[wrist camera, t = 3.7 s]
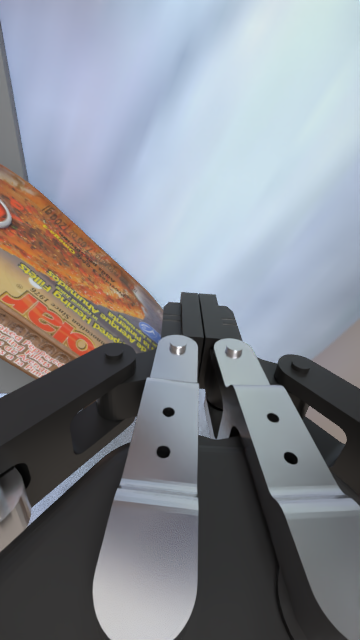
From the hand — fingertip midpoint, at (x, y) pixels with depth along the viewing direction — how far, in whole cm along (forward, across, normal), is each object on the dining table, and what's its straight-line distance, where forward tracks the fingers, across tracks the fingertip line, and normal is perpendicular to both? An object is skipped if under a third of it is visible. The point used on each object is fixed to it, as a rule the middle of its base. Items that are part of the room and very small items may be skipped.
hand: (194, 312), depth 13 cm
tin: (+6, +6, 0) cm, 8 cm away
